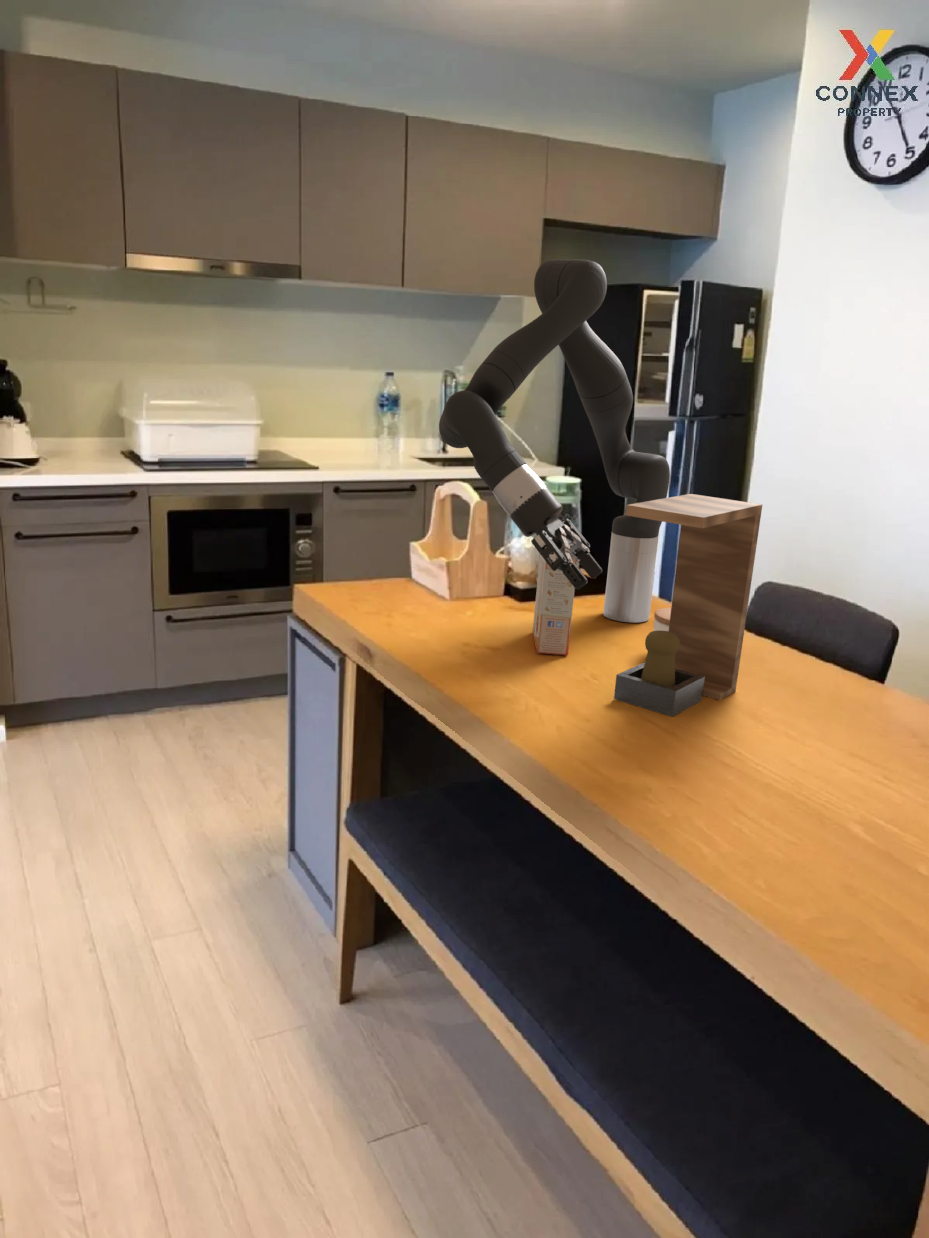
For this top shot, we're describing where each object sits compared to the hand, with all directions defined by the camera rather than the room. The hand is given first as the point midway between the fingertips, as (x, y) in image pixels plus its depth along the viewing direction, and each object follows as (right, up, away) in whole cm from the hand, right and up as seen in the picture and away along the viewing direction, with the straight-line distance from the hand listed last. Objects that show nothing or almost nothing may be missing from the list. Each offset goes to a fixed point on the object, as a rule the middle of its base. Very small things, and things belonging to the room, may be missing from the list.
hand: (590, 580), depth 153 cm
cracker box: (-4, -11, +24) cm, 27 cm away
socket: (+10, -19, -2) cm, 21 cm away
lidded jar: (+19, -13, +22) cm, 31 cm away
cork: (+10, -19, -2) cm, 21 cm away
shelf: (+13, -18, 0) cm, 22 cm away
